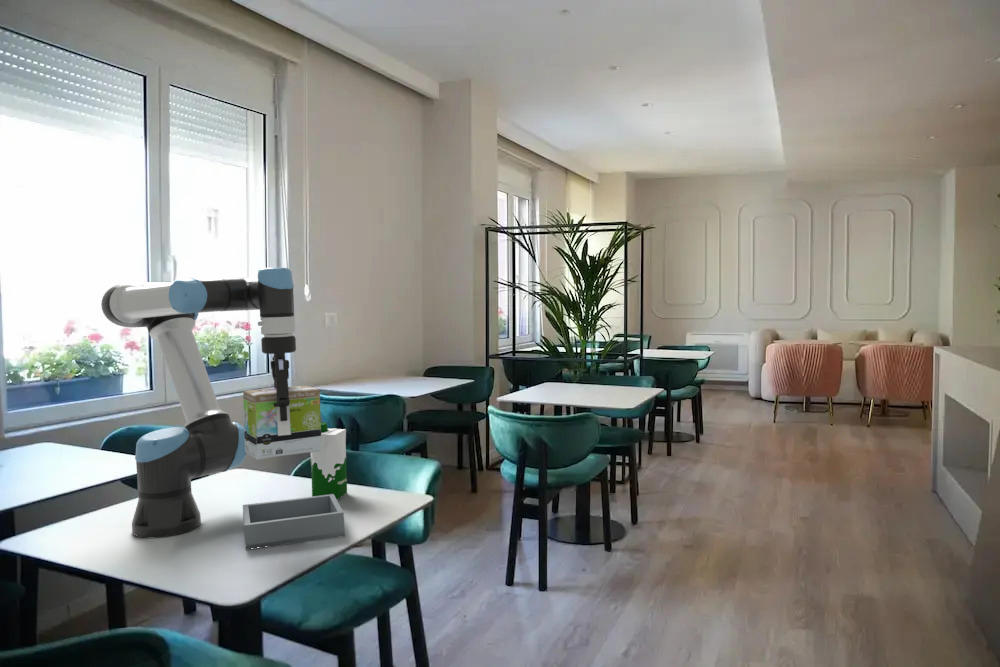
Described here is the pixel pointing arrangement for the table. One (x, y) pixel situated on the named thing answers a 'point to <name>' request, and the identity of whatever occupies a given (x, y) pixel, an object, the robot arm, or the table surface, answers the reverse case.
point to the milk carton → (330, 463)
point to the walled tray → (292, 521)
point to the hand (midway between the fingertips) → (283, 430)
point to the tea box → (264, 422)
